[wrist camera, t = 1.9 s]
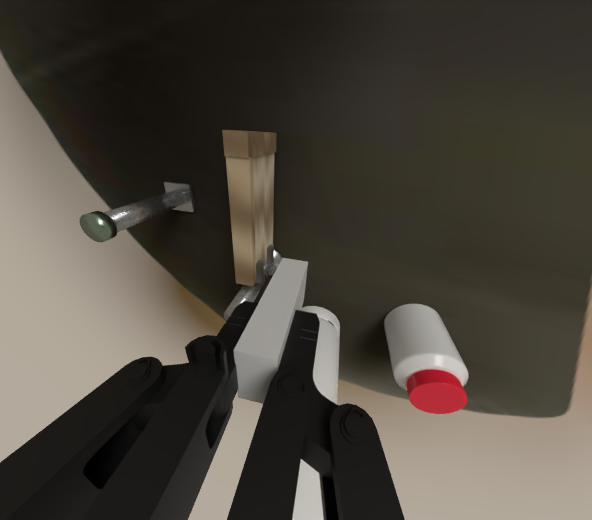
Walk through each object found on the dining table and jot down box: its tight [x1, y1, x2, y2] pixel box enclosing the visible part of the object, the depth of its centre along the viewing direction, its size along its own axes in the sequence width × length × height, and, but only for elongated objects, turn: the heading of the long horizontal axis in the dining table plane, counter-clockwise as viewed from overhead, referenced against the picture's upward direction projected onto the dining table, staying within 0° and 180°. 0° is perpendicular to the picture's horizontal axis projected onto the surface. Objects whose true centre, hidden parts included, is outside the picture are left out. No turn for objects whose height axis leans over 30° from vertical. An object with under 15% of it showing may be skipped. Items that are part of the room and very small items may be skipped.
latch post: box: [80, 181, 196, 242], centre depth 25 cm, size 4×4×12 cm
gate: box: [222, 130, 277, 286], centre depth 24 cm, size 15×2×8 cm, turn 176°
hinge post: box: [224, 248, 283, 321], centre depth 27 cm, size 4×4×12 cm
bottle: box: [292, 306, 340, 520], centre depth 25 cm, size 8×8×28 cm
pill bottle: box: [384, 304, 468, 414], centre depth 28 cm, size 8×8×11 cm
